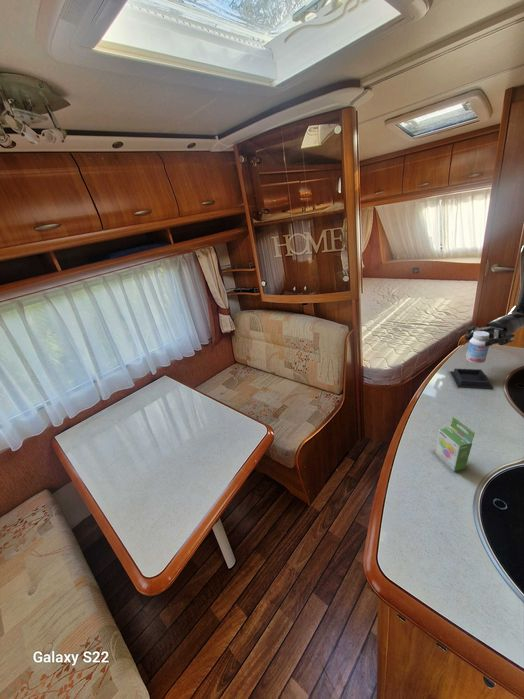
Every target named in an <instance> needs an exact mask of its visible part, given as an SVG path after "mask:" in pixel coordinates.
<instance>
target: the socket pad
mask: <svg viewBox="0 0 524 699" xmlns="http://www.w3.org/2000/svg"><path fill="white" fill-rule="evenodd" d="M449 372H450V376H451V377H452V379H453V381H454V383H455V385H456V387H457V388H458V389H459V388H461V389H477V390H494V387H493V386H492V384H491V381H490V379H489V378H488V377H487V376H486V374H485V372H484V371H483V370H482V369H479V368H477V369H476V368H475V369H474V368H454V369H453V371H452V370H451V371H449Z"/></svg>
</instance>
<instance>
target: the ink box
mask: <svg viewBox="0 0 524 699" xmlns="http://www.w3.org/2000/svg"><path fill="white" fill-rule="evenodd" d="M459 426H460V427H461V428H460V427H459ZM463 429H465V430H463ZM465 431H466V432H465ZM475 434H476V433H475V431H473V430H472V429H471V428H469V427H468V426H467V425H465V424H464V423H463V422H461V421H460V420H459V419H457V418H456V417H455V416H452V420H451V424H450V426H446V427H444V428H443V427H442V428H440V429H439V430H438V434H437V440H436V441H437V442H436V448H435V455H436V456H437V457H438V458H439V459H440V460H441V461H442V462H443V463H444V464H445V465H446V466H447V467H448V468H449V469H450V470H451V471H452V472H453V473H454V472H457V471H461V470H465V469H466V468H467V464H468V461H469V456H470V453H471V449H472V445H473V440H474V437H475Z"/></svg>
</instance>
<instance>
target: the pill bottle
mask: <svg viewBox="0 0 524 699" xmlns="http://www.w3.org/2000/svg"><path fill="white" fill-rule="evenodd" d="M488 339H489V333H488V332H485V331H475V332H474V333H473V337H472V338H471V339H470V340H468V344H467V349H466V354H465V359H466V361H468V362H470V363H472V364H483V363H485V362H486V360H487V356H488V351H489V347H490V346H488V347H487V346H485V342H486V341H487V340H488Z"/></svg>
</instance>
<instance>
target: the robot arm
mask: <svg viewBox="0 0 524 699" xmlns="http://www.w3.org/2000/svg"><path fill="white" fill-rule="evenodd" d="M519 255H520V256H519V276H520V277H519V280H520V282H519V283H520V284H519V285H520V286H519V292H518V296H517V300H516V305H514V306H512V307H511V308H510V310H509V312H508V313H507V314H505V315H503V316H500V317H498V318H496V319H494V320H491V321H490V322H488V323H487V324H486V325H485V326H481V327H477V325H476V324H473V325H471V326H470V327H467V329H466V332H465V336H464V340H465V341H467V342H469V340H470V339H471V338H472V337H473V333H474V332H475V331H485V332H488V333H489V338H488V340H487V341H486V342H485V346H487V347H488V346H489V347H491V346H493V345H497V344H498V345H499V346H504V345H507V344H510V343H513V342H514V339H515V336H516V335H515V333H516V332H517V331H519V330H520V329H523V328H524V245H522V248H521V250H520V254H519Z"/></svg>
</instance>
